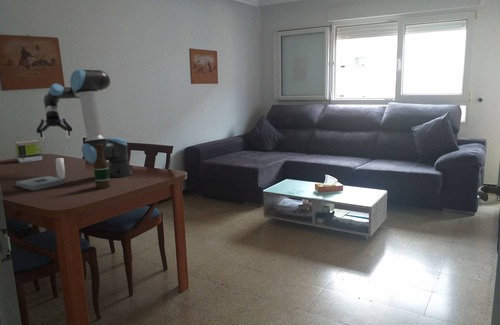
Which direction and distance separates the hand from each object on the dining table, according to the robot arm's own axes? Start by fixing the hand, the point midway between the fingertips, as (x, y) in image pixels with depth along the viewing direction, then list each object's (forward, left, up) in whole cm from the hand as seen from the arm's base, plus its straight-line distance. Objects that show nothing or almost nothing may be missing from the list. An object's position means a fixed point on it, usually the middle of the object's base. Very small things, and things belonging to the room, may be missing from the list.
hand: (56, 140), depth 241 cm
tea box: (+65, -12, -22) cm, 70 cm away
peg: (-10, +5, -22) cm, 25 cm away
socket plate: (-17, +21, -22) cm, 35 cm away
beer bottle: (-51, +4, -22) cm, 56 cm away
